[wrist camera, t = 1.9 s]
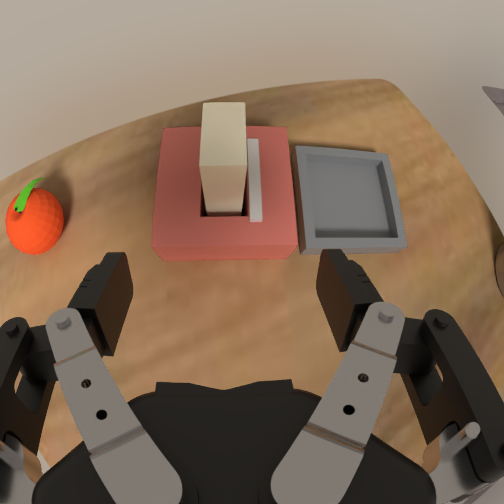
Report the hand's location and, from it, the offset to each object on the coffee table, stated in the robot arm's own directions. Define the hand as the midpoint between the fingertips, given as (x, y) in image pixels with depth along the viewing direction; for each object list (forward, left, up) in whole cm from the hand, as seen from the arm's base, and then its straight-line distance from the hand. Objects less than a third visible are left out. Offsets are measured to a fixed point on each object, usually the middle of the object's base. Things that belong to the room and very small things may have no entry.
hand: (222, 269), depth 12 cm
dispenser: (0, -10, -16) cm, 19 cm away
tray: (-13, -10, -16) cm, 23 cm away
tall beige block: (0, -10, -17) cm, 19 cm away
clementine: (+20, -8, -17) cm, 27 cm away
